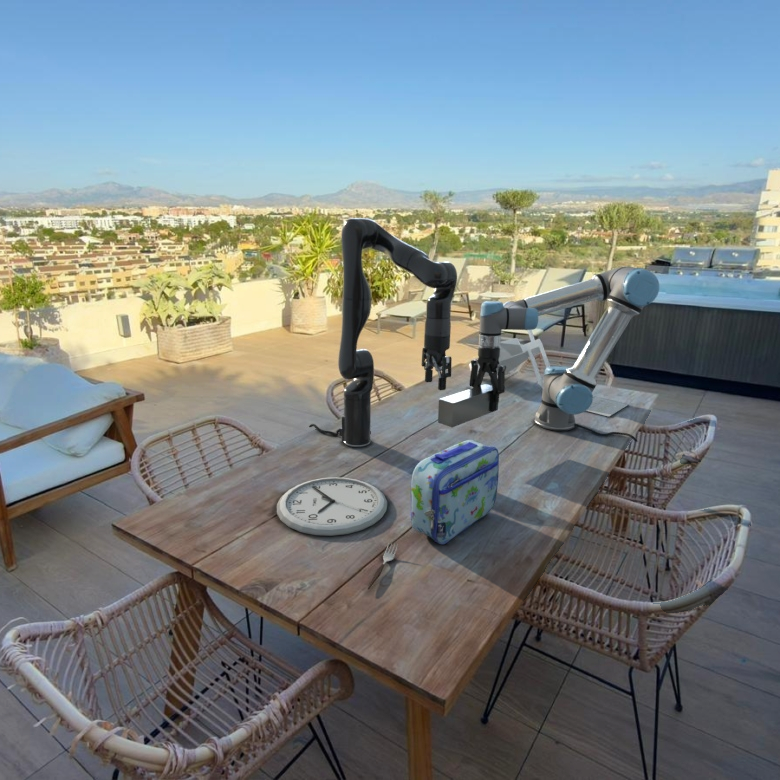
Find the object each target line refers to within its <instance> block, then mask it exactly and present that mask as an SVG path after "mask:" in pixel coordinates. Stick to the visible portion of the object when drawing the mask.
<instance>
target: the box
mask: <svg viewBox="0 0 780 780" xmlns="http://www.w3.org/2000/svg"><path fill="white" fill-rule="evenodd" d="M491 394H493V389H492V384H491V385H490V384H487V383H484V384H481V385H480V386H478V387H475V388H473V387H472V388H469V389H465V390H462V391H459V392H456V393H453V394H449V395H446V396H443V397H440V398H438V411H437V414H438V415H437V423H438V424H441V425H443V426H447V427H449V428H455V427H457V426H460V425H462V424H465V423H468V422H471V421H473V420H475V419H478V418H481V417H484V416H486V415H488V414H492V413H494V412H497V411H498V410H499V402H498V403H497V409H496V411H493V412H490V408H491Z"/></svg>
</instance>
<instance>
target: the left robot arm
mask: <svg viewBox="0 0 780 780" xmlns="http://www.w3.org/2000/svg"><path fill="white" fill-rule="evenodd" d="M340 237H341V254H342V268H343V269H342V301H341V303H342V304H341V305H342V307H341V316H342V317H341V333H340V343H339V350H338V358H337V359H338V361H337V362H338V364H337V365H338V371H339V374H340V376H341V377H342V378H343V379H344V380H352V381H351V382H349V384H347V385H346V386H345V387H344V389H343V416H342V417H341V427H340V428H338V429H336V432H333V431H330V430H324V429H322V428H320V427H319V426H318V425H316V424H315V423H310V424H309V426H308V427H309V428H315V429H316V430H317V431H318V432H320V433H323V434H328V435H329V434H330V435H332V436H336V437H337V436H340V437H341V443H343V444H344V445H346V446H347V447H351V448H363V447H364V448H365V447H367V446H369V445H370V444H372V443H371V442H372V441H371V434H372V430H371V421H372V420H371V416H372V415H371V411H372V409H371V408H372V406H371V404H372V401H371V400H372V398H371V397H372V396H371V395H372V394H371V393H372V391H373V387H374V372H375V363H374V358H373V355H372V353H371V352H370V350H368V349H365V348H361V349H358V341H359V338H360V335H361V333H362V331H363V329H364V328H365V326H366V324H367V322H368V320H369V318H370V316H371V309H372V290H371V287H370V284H369V282H368V279H367V277H366V275H365V272H364V268H363V250H369V249H370V250H374V251H378V252H380V253H382V254H385V256H387V257H388V258H389V259H390V261H391V262H392V263H393V264H394V265H395V266H396V267H398V268H400V269H402V270H403V271H405V272H407V273H408V274H411V275H413V276H414V277H415V279H417V280H418V281H419V282H420V283H421V284H422V285H424V286H426V287H428V288H430V289H433V290H434V291H433V294H432V295H430V296H429V297H428V298H427V300H426V308H425V322H424V336H423V337H424V339H423V347H422V352H421V367H422V368H423V369H424V382H425V383H432V382H433V377H434V376H433V375H434V374H433V372H434V370H435V372H437V375H438V381H437V383H438V384H437V389H438V390H439V391H445V390H446V389H447V378H451V377H452V361H453V360H452V356H447V355H446V352H447V351H448V350H449V349H450V347H451V333H452V332H451V328H452V324H451V312H452V301H453V298H454V294H455V291H456V287H457V283H458V272H457V268H456V267H455V265H454V264H453V263H452V262H450V261H437V262H436V261H433V260H431V259H430V257H429V255H428V254H427V253H425V252H424V251H422V250H420V249H418V248H416V247H414V246H412V245H410V244H408V243H406V242H404V241H402V240H401V239H399V238H397V237H396V236H394V235H393V234H392V233H390V232H388V231H387V230H386V229H385V228H383V227H382V226H381V224H379V223H377V222H376V221H374V220H373V219H370V218H365V217H363V218H360V217H358V218H357V217H353V218H348V219H347V220H346V221H344V223H343V225H342V228H341V236H340ZM433 369H434V370H433Z"/></svg>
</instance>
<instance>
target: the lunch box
mask: <svg viewBox="0 0 780 780" xmlns="http://www.w3.org/2000/svg"><path fill="white" fill-rule="evenodd" d="M499 465H500V455H499V450H498V448H497V447H495V446H489V445H488V446H487V445H486V444H485V445H484V444H483V443H480V442H478V441H475V440H473V439H467V440H464V441H461V442H458V443H456V444H454V445H451V446H449V447H446V448H444V449H443V450H441V451H438V452H436V453H434V454H432V455H430V456H429V457H425V458H424V459H422V460H420V461H419V462H418V463H417V464H416V465H415V468H414V469H413V471H412V474H411V480H410V481H411V482H410V523H411V528H412V530H413V531H415V532H418V533H420V534H423V535H425V536H427V537H429V538H431V539H432V540H433V541H434V542H435V543H437V544H439V545H445V544H447V543H449V542H450V541H451V540H453V539H454V538H455V537H456V536H458V535H459V534H461V533H462V532H464V531H465V530H467V529H468V528H470V527H471V526H472V525H473V524H474V523H475V522H476V521H478V520H480V519H482V518H484V517H485V516H486V515H488V514H489V513H490V512H491V511H492V509H493V508H494V505H495V502H496V499H497V495H498V486H499V485H498V484H499V471H500V470H499V469H500V467H499Z"/></svg>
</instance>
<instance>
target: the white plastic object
mask: <svg viewBox="0 0 780 780" xmlns="http://www.w3.org/2000/svg"><path fill="white" fill-rule="evenodd" d="M526 331H527V334H528V337H529V340H530V341H529V342H527V343H525V344H524V343H521V342H520V341H519V338H518V337H515V338H510V339H506V340H501V345H500V346H499V347H500V357H499V364H500V365H502V366H506V370H505V376H507V375H510V374H511V371H513V370H514V369H516V368H517V367H519V366H520V365H522V364H523V363H524V362H526V361H527V360H530V363H531V366H532V369H533V371H534V374H535V377H536V378H535V379H536V380H537V383H538V386H539V387H540V388H541V389H542V390H543V382H544V380H543V378H542V375H541V372H540V370H539V366H538V364H537V360H536V358H535V355H538V354H540V353H541V356H542V359H543V363H544V365H545V369H546V368H547V367H551V363H550V361H549V359H548V355H547V353H546V350H545V348H544V344H543V341H541V338H536V339H535V336H534V333H533V330H526ZM468 366H469V370H470V371H471V368H472V366H471V362H470V363H469V364H468ZM479 368H480V366H479V364H478V370H479ZM497 369H498V367H497ZM492 373H493V372H492ZM477 375H478V373H477ZM497 376H498V370H497ZM487 377H490V376H489V374H488V373H487V372H485V375H484V377H483V378H487Z"/></svg>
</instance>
